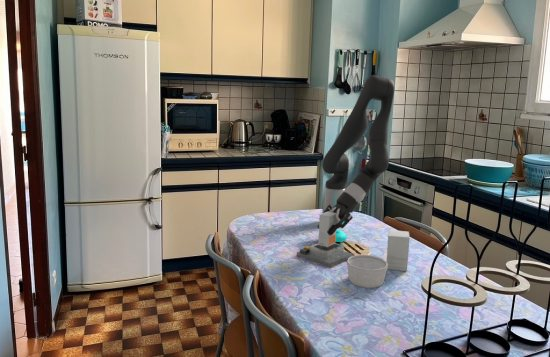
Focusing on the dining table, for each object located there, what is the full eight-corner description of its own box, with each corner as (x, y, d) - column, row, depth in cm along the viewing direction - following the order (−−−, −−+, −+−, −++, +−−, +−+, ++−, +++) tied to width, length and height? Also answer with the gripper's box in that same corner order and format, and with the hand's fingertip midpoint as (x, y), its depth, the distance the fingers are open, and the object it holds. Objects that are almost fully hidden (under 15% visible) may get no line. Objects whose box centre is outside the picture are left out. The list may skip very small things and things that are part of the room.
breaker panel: (296, 255, 175) (296, 245, 175) (318, 247, 186) (319, 237, 185) (330, 267, 165) (331, 257, 164) (352, 257, 175) (353, 247, 174)
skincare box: (327, 247, 171) (329, 216, 169) (318, 245, 174) (319, 214, 172) (336, 243, 176) (337, 213, 174) (326, 241, 179) (327, 211, 176)
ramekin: (386, 292, 147) (388, 271, 145) (344, 287, 149) (346, 267, 148) (385, 275, 159) (387, 256, 158) (346, 271, 162) (348, 252, 161)
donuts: (319, 214, 196) (340, 212, 199) (318, 237, 198) (338, 235, 201) (330, 221, 187) (352, 219, 190) (329, 244, 189) (350, 242, 192)
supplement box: (407, 264, 170) (409, 231, 167) (407, 271, 163) (409, 237, 160) (386, 261, 172) (388, 229, 169) (385, 269, 165) (388, 235, 162)
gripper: (334, 187, 181) (307, 220, 178) (357, 195, 168) (328, 231, 165) (345, 199, 184) (319, 232, 181) (368, 208, 172) (340, 243, 169)
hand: (324, 231), depth 173 cm, fingers closed on skincare box, 6 cm apart
